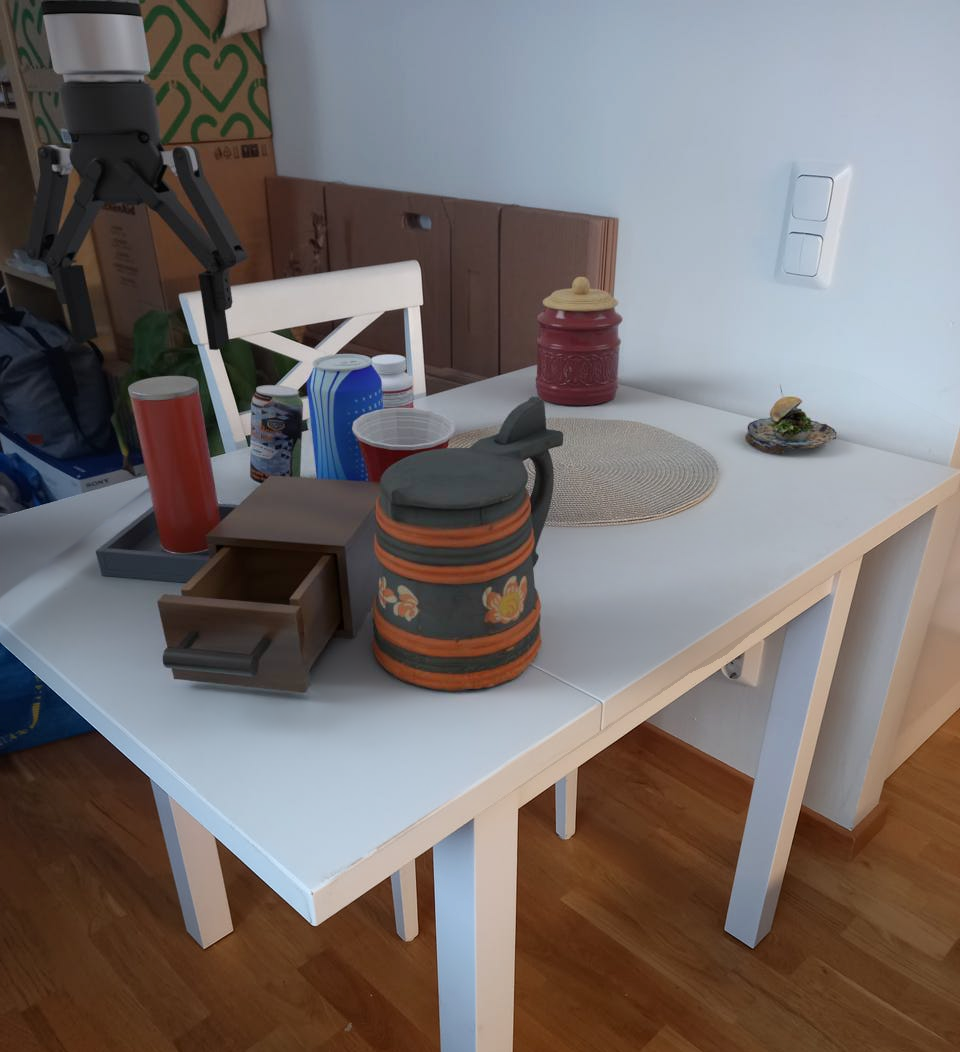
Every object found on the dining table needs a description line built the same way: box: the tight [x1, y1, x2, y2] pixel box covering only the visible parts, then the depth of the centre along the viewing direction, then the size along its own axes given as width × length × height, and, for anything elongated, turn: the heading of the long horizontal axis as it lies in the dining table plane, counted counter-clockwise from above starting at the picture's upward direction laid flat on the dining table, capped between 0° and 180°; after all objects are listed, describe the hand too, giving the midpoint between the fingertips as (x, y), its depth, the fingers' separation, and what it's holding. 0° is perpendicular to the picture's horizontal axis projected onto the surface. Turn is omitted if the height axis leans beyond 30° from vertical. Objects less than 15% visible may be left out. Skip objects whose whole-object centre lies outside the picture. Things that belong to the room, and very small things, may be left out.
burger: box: [745, 384, 837, 455], centre depth 124 cm, size 12×12×8 cm
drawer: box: [156, 545, 343, 694], centre depth 76 cm, size 18×11×7 cm, turn 169°
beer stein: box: [372, 396, 564, 692], centre depth 77 cm, size 19×15×20 cm
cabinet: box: [206, 476, 381, 639], centre depth 87 cm, size 15×13×9 cm
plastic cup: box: [352, 407, 455, 482], centre depth 100 cm, size 11×11×12 cm
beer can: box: [306, 353, 383, 482], centre depth 107 cm, size 8×8×16 cm
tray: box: [95, 502, 239, 584], centre depth 97 cm, size 14×14×3 cm
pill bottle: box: [371, 353, 415, 409], centre depth 126 cm, size 6×6×11 cm
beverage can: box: [249, 384, 304, 486], centre depth 112 cm, size 6×7×12 cm
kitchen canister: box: [535, 276, 624, 406], centre depth 142 cm, size 13×13×18 cm
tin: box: [127, 375, 221, 556], centre depth 93 cm, size 6×6×17 cm
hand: (152, 343), depth 87 cm, fingers open, 13 cm apart
